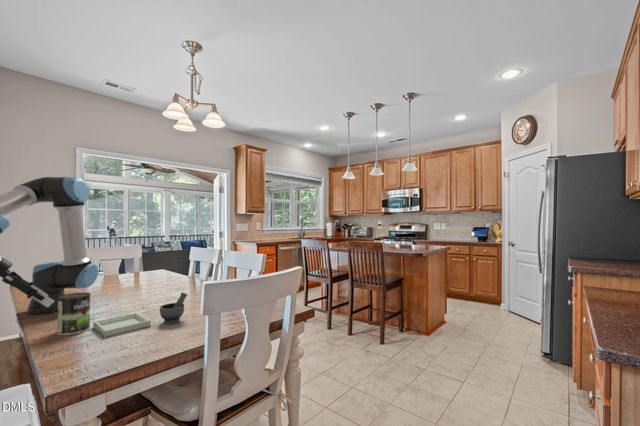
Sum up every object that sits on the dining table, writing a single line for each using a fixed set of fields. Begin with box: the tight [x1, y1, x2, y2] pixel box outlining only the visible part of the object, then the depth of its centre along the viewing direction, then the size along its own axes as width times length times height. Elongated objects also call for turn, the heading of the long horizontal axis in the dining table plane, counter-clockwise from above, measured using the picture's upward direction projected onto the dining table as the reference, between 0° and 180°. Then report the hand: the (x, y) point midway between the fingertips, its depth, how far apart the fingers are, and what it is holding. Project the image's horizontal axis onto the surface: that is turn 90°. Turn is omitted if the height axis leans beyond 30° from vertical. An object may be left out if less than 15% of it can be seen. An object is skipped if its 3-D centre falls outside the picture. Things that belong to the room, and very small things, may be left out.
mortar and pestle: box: [159, 292, 188, 325], centre depth 134 cm, size 11×9×12 cm
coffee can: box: [56, 292, 91, 336], centre depth 123 cm, size 10×10×14 cm
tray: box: [93, 312, 152, 338], centre depth 127 cm, size 16×16×2 cm
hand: (48, 300), depth 116 cm, fingers open, 13 cm apart
